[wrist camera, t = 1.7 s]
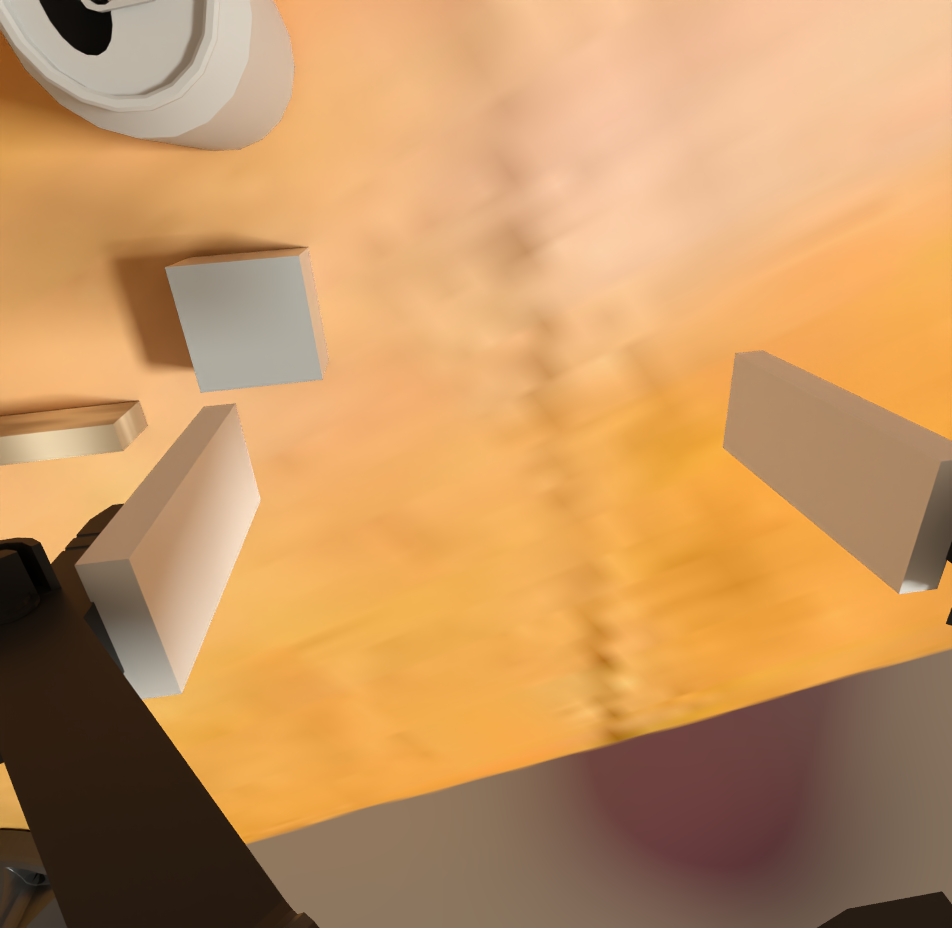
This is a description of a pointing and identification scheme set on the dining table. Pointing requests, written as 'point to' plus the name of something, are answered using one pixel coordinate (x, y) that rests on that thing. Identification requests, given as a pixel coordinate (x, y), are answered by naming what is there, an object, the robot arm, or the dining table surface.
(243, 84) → the can
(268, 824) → the dining table surface
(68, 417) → the tray
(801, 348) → the dining table surface
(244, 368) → the pale grey square block
